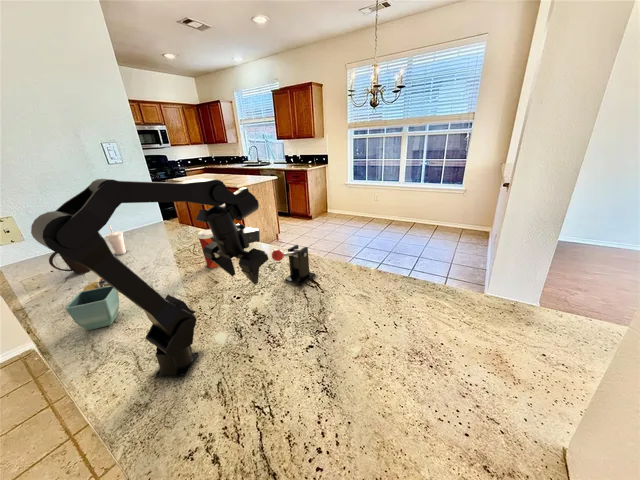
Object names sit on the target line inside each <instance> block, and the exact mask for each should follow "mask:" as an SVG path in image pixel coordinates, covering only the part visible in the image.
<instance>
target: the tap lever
mask: <svg viewBox="0 0 640 480" xmlns="http://www.w3.org/2000/svg"><path fill="white" fill-rule="evenodd" d="M300 249H301V248H299V249H294V250H293V252H288V251H286V252H283V250H281V249H280V248H276V249H273V251H272V253H271V258H272V259H273V261H275V262H280V261H282V260H284V257H289V256H294V257H298V255H297V251H299V250H300Z"/></svg>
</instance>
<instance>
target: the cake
mask: <svg viewBox="0 0 640 480" xmlns="http://www.w3.org/2000/svg"><path fill="white" fill-rule="evenodd" d="M149 266H150V265H149V264H148V267H149ZM84 275H85V278H86V281H87V285H85V286H83V289H82V292H83V291H88V290H93V289H98V288H103V287H108V286H111V285H110V284H108V283H107V282H106V281H104V280H103V279H102V278H100V277H99V276H98V275H96V274H95V273H94V272H92V271H89V272H86V273H84Z"/></svg>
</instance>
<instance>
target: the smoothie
mask: <svg viewBox="0 0 640 480" xmlns="http://www.w3.org/2000/svg"><path fill="white" fill-rule="evenodd" d="M108 227H109V230H110V232H109V233H107V234H105V237H106V239H107V241H108V242H109V244H110V245H111V248H112V249H113V251H114V253H115V256H116V255H117V256H119V255H124V254H126V253H127V251H126V246H125V241H124V236H123V235H124V232H123V231H113V228H112V226H111V224H109V225H108Z"/></svg>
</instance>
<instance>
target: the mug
mask: <svg viewBox="0 0 640 480" xmlns="http://www.w3.org/2000/svg"><path fill="white" fill-rule="evenodd" d="M57 255H59V256H60V257H61V259H62V260H63V261H64V263H65V264H66V266H67V267H69V269H66V268H60V267H57V266H56V265H55V264H54V258H55V257H56V256H57ZM48 263H49V265H50V267H52V268H54V269H56V270H57V271H62V272H73V273H75V274H77V275H83V274H86V273H89V272H92V271H91V270H90V269H88V268H87V267H84V266H82V265H80V264H78V263H76V262H74V261H72V260H70V259H68V258H66V257H64V256H62V255H60V254H58V253H56V252H54V251H53V252H52V253H51V254H50V255H49V258H48Z"/></svg>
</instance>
